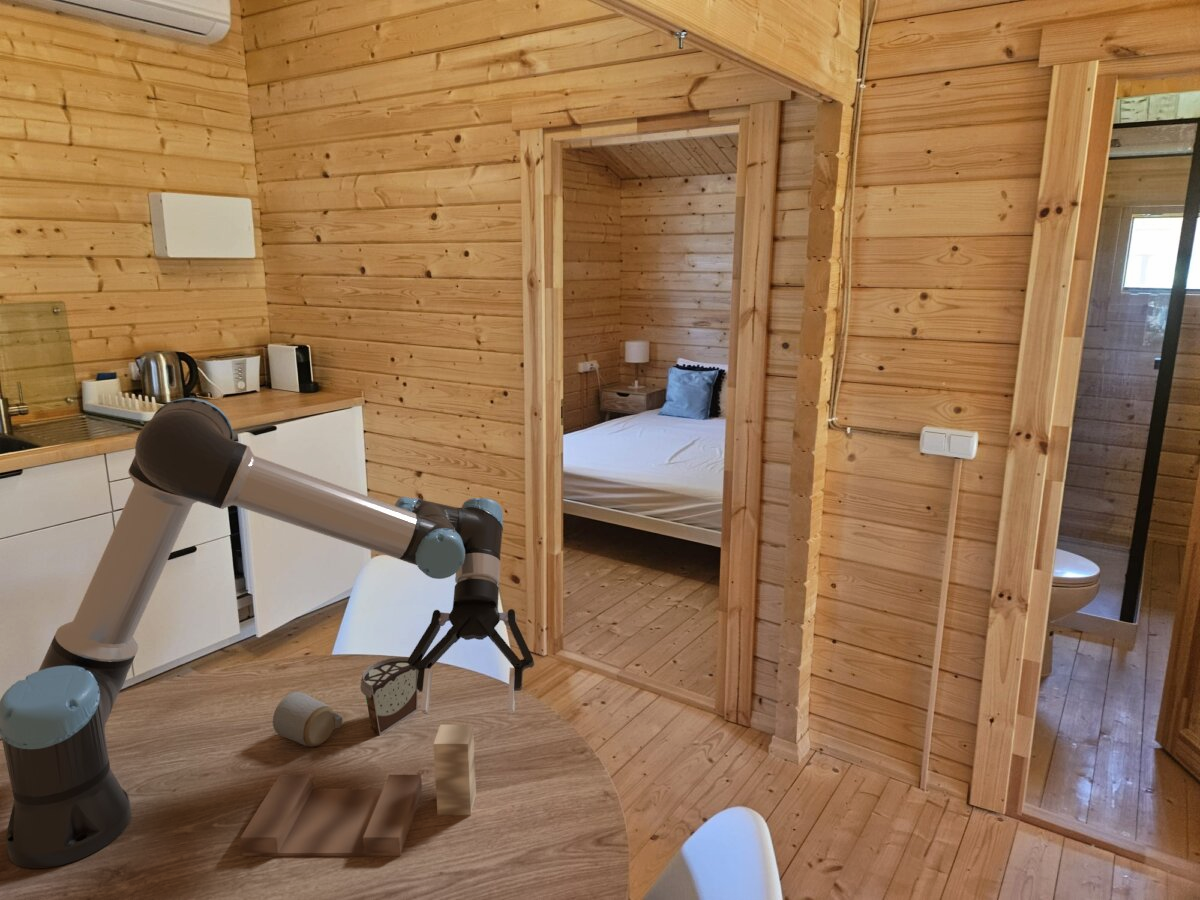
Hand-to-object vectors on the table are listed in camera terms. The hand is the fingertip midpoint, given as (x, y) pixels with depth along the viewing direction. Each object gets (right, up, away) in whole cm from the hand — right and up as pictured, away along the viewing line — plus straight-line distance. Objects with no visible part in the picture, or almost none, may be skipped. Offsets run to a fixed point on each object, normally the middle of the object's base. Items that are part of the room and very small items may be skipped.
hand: (467, 711), depth 127 cm
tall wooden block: (-1, -13, -4) cm, 13 cm away
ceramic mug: (-30, -9, +14) cm, 34 cm away
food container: (-18, -8, +19) cm, 28 cm away
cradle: (-18, -14, -8) cm, 24 cm away
